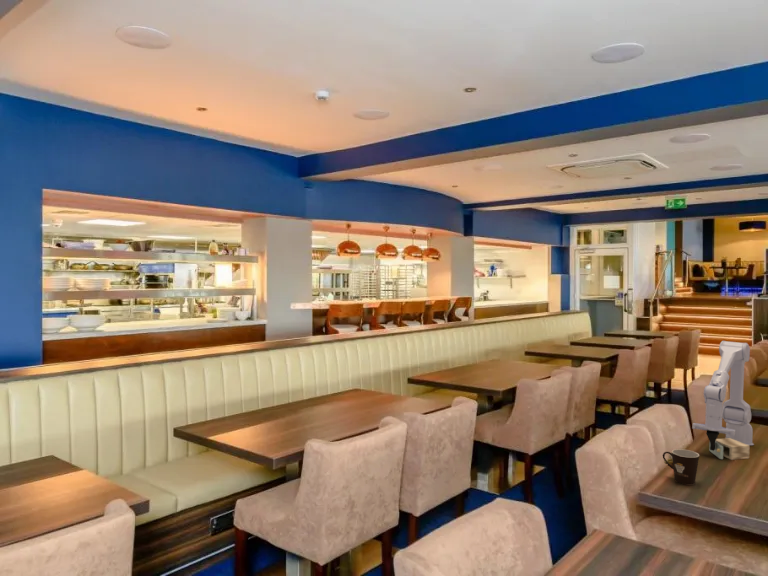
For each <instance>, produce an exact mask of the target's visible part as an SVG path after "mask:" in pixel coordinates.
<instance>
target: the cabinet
mask: <svg viewBox="0 0 768 576" xmlns="http://www.w3.org/2000/svg"><path fill="white" fill-rule="evenodd" d="M716 442H718V443H719V444H720V445H722V446H723V458H724V457H725V458H727V459H729V460H731V461H733V460H743V459H750V449H751V448H750V446H751V445H746V444H744V443H741V442H739V441H736V440H734V439H731V438H726V437H724V438H717V439H716Z"/></svg>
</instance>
